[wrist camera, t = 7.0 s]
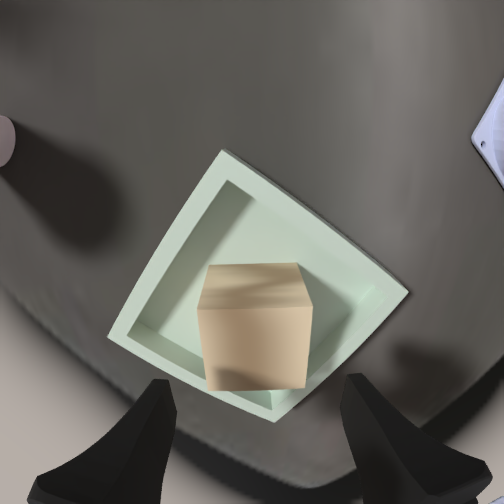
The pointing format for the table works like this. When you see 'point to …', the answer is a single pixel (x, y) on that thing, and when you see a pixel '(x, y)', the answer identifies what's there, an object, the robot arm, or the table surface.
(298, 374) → the maple cube
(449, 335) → the table surface
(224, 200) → the green tray
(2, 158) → the smoothie
